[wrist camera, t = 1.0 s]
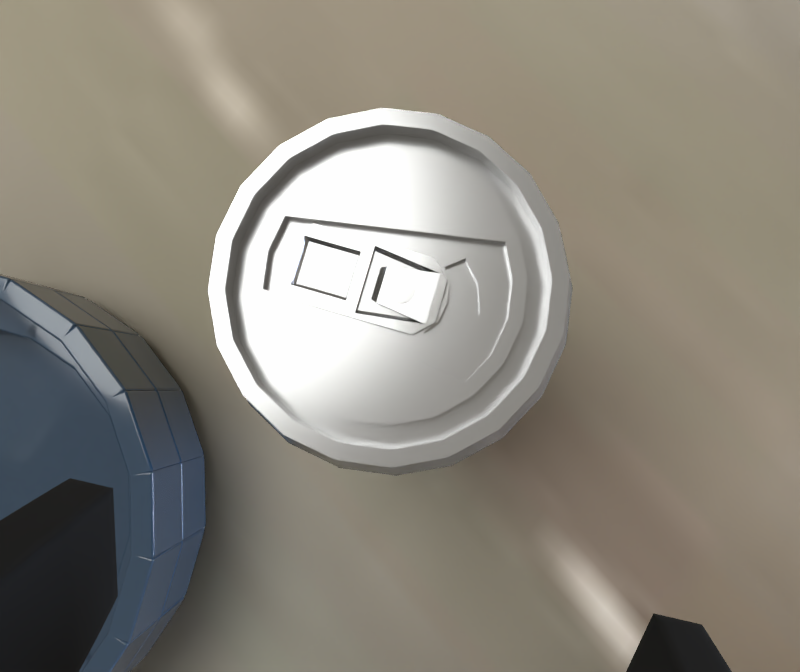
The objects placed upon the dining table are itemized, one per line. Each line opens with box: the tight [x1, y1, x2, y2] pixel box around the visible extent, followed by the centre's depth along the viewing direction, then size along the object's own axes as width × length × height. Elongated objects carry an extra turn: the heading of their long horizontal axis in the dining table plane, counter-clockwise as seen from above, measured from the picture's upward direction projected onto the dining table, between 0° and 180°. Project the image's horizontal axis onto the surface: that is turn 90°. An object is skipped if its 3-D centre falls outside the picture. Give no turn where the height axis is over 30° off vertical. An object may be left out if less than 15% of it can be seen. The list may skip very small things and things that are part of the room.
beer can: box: [208, 108, 573, 476], centre depth 15 cm, size 5×5×12 cm
